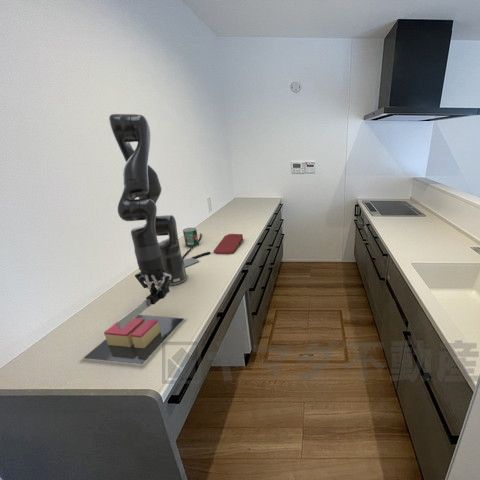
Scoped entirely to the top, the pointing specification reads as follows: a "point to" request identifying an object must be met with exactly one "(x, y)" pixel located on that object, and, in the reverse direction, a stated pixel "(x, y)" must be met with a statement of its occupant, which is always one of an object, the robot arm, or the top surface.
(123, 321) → the knife
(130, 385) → the top surface
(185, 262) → the cleaver
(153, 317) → the slate board
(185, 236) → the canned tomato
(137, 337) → the cake slice
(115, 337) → the cake
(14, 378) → the top surface
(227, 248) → the red slab
